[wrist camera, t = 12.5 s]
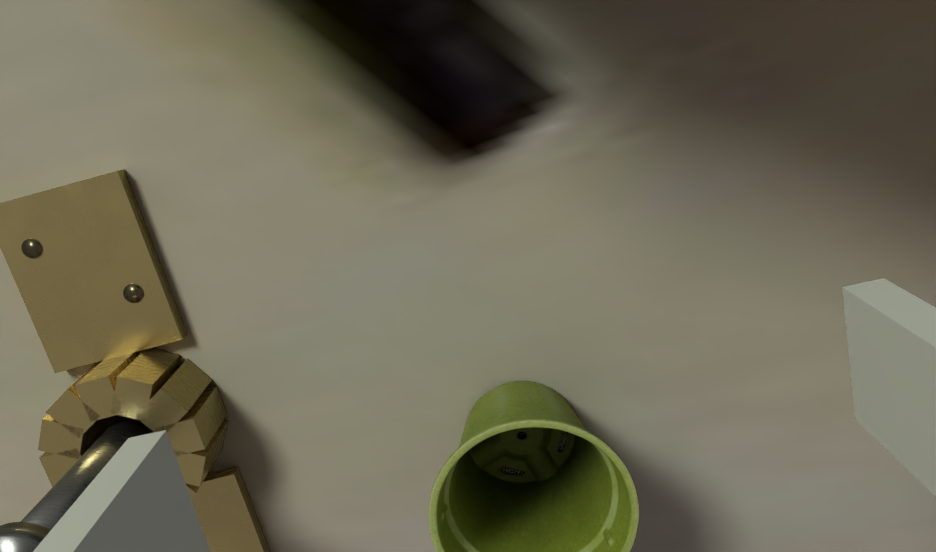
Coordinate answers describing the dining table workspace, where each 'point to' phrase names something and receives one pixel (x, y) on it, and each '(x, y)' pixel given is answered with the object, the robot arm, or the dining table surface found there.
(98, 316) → the hinge
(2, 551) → the pin
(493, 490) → the plant pot
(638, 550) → the dining table surface
